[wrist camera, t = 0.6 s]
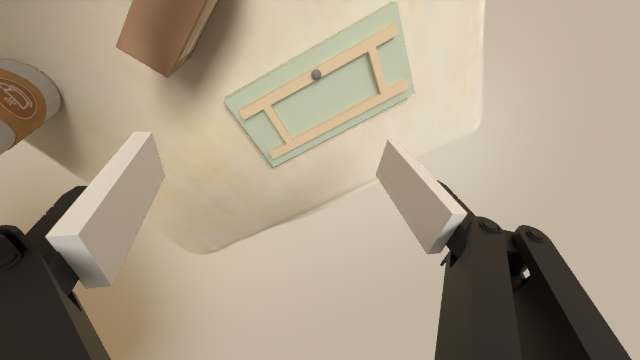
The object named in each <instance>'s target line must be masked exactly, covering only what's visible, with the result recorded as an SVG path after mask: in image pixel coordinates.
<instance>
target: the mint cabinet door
mask: <svg viewBox="0 0 640 360" xmlns="http://www.w3.org/2000/svg"><path fill="white" fill-rule="evenodd" d="M413 94H415V91H414V86H413V81H412V76H411V71H410V66H409V61H408V56H407V51H406V46H405V41H404V35H403V30H402V25H401V20H400V15H399V10H398V5H397V2H390V3H389V4H387V5H385V6H383V7H382V8H380V9H378V10H376V11H375V12H373V13H371V14H370V15H368V16H366V17H364V18H363V19H361V20H359V21H357V22H356V23H354V24H352V25H350V26H349V27H347V28H345V29H343V30H342V31H340V32H338V33H336V34H335V35H333V36H331V37H329V38H328V39H326V40H324V41H322V42H321V43H319V44H317V45H315V46H314V47H312V48H310V49H308V50H307V51H305V52H303V53H301V54H300V55H298V56H296V57H294V58H293V59H291V60H289V61H287V62H286V63H284V64H282V65H280V66H279V67H277V68H275V69H273V70H272V71H270V72H268V73H266V74H265V75H263V76H261V77H259V78H258V79H256V80H254V81H252V82H251V83H249V84H247V85H245V86H244V87H242V88H240V89H238V90H237V91H235V92H233V93H231V94H230V95H228V96H226V97H225V98H224V103H225V104H226V105H227V107H228V108H229V109H230V111H231V112H232V113H233V114H234V116H235V117H236V118H237V120H238V121H239V122H240V124H241V125H242V126H243V128H244V129H245V130H246V132H247V133H248V134H249V136H250V137H251V138H252V140H253V141H254V142H255V144H256V145H257V146H258V148H259V149H260V150H261V152H262V153H263V154H264V156H265V157H266V158H267V159H268V161H269V162H270V163H271V165H272V166H273V167H275V166H277V165H279V164H281V163H283V162H284V161H286V160H288V159H290V158H292V157H294V156H296V155H298V154H300V153H302V152H304V151H306V150H308V149H309V148H311V147H313V146H315V145H317V144H319V143H321V142H323V141H325V140H327V139H329V138H331V137H333V136H334V135H336V134H338V133H340V132H342V131H344V130H346V129H348V128H350V127H352V126H354V125H356V124H357V123H359V122H361V121H363V120H365V119H367V118H369V117H371V116H373V115H375V114H377V113H379V112H381V111H382V110H384V109H386V108H388V107H390V106H392V105H394V104H396V103H398V102H400V101H402V100H404V99H406V98H407V97H409V96H411V95H413Z"/></svg>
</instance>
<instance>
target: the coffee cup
mask: <svg viewBox="0 0 640 360" xmlns="http://www.w3.org/2000/svg"><path fill="white" fill-rule="evenodd" d="M60 105H61V98H60V93H59V91H58V89H57V87H56V86H55V85H54V83H53V82H52V81H51V80H50V79H49V78H48V77H47V76H46V75H45V74H43V73H42V72H40V71H39V70H37V69H35V68H33V67H31V66H29V65H27V64H23V63H20V62H17V61H13V60H7V59H0V155H1V154H2V153H3V152H5V151H7V150H9V149H10V148H12V147H13V146H14V145H16V144H17V143H19V142H20V141H21V140H23V139H24V138H25V137H26V136H28V135H29V134H30V133H32V132H33V131H34V130H36V129H37V128H38V127H40V125H41V124H42V123H44V122H45V121H46V120H48V119H49V118H50V117H52V116H53V115H54V114H55V113H56V112H57V111H58V110H59V108H60Z"/></svg>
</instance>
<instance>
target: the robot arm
mask: <svg viewBox="0 0 640 360" xmlns="http://www.w3.org/2000/svg"><path fill="white" fill-rule="evenodd" d="M376 176H377V178H378V179H379V181H380V182H381V184H382V185H383V187H384V188H385V190H386V192H387V193H388V194H389V196H390V198H391V199H392V201H393V202H394V204H395V205H396V207H397V209H398V210H399V212H400V213H401V215H402V216H403V218H404V219H405V221H406V223H407V224H408V226H409V227H410V229H411V230H412V232H413V233H414V235H415V236H416V238H417V239H418V241H419V243H420V244H421V246H422V247H423V249H424V250H425V252H426V253H427V254H435V253H440V252H441V251H442V250H443V248H444V247H445V245H447V247H448V248H449V250H450V251H449V253H448V254H447V255H446V257H445V258H444V260H443V261H442V263H441V264H440V265H441V266H443V265H444V263H446V268H445V276H444V284H443V293H442V301H441V309H440V318H439V327H438V335H437V343H436V352H435V360H631V358H630V357H629V355H628V354H627V352H626V351H625V349H624V348H623V346H622V345H621V343H620V342H619V340H618V339H617V337H616V336H615V335H614V333H613V332H612V330H611V329H610V327H609V326H608V324H607V323H606V321H605V320H604V318H603V317H602V315H601V314H600V312H599V311H598V310H597V308H596V306H595V305H594V304H593V302H592V301H591V299H590V298H589V296H588V295H587V293H586V292H585V290H584V289H583V287H582V286H581V284H580V283H579V281H578V280H577V278H576V277H575V275H574V274H573V273H572V271H571V270H570V268H569V267H568V265H567V264H566V262H565V261H564V259H563V258H562V256H561V255H560V254H559V252H558V250H557V249H556V247H555V246H554V245H553V243H552V242H551V240H550V239H549V238H548V237H547V236H546V235H545V234H543V233H542V232H541V231H540V230H538V229H536V228H533V227H530V226H526V225H522V226H519V227H518V228H517V229H516V230H515V232H511V231H506V230H502V229H501V228H500V226H499V225H498V224H496V223H495V222H493V221H492V220H490V219H487V218H484V217H476V216H475V215H474V214H473V213H472V212H471V211H470V210H469V209H468V208H467V206H466V205H465V204H464V203H463V202H462V201H461V200H460V199H458V197H457V196H456V195H455V194H453V192H452V191H451V190H450V189H449V188H448V187H447V186H446V185H444V184H443V183H441V182H439V181H438V180H435V178H434V177H433V176H432V175H431V174H430V173H429V172H428V171H427V170H426V169H425V168H424V167H423V166H422V165H421V163H420V162H419V161H418V160H417V159H416V158H415V157H414V156H413V155H412V154H411V153H410V152H409V151H408V150H407V149H406V148H405V146H404V145H403V144H402V143H401V142H400V141H399V140H387V143H386V146H385V149H384V152H383V155H382V158H381V161H380V164H379V167H378V170H377V173H376ZM164 177H165V175H164V172H163V168H162V165H161V162H160V158H159V155H158V151H157V148H156V144H155V141H154V137H153V134H152V132H133V134H132V135H131V136H130V137H129V138H128V140H127V141H126V142H125V143H124V144H123V145H122V147H121V148H120V149H119V150H118V151H117V153H116V154H115V155H114V156H113V157H112V158H111V160H110V161H109V162H108V163H107V164H106V165H105V167H104V168H103V169H102V170H101V171H100V173H99V174H98V175H97V176H96V177H95V178H94V180H93V181H92V182H91V183H90V184H89V185H88V186H77V187H75V188H73V189H72V190H70V191H68V192H67V193H65V194H63V195H62V196H61V197H60V198H59V200H58V201H57V202H56V203H55V204H54V207H51V208H50V209H49V210H48V211H47V212H46V215H44V216H43V217H42V218H41V219H40V220H39V221H38V222H37V223H36V224H35V225H34V226H33V227H32V228H31V230H30V231H29V232H28V233H27V234H26V235H24V234H23V232H22V231H21V230H20V229H18V228H17V227H16V226H10V225H1V226H0V360H111V359H110V357H109V355H108V353H107V351H106V350H105V348H104V346H103V344H102V342H101V340H100V338H99V337H98V335H97V333H96V331H95V329H94V327H93V325H92V324H91V322H90V320H89V318H88V316H87V315H86V313H85V311H84V309H83V307H82V305H81V303H80V302H79V300H78V298H77V296H76V294H75V293H74V292H73V291H72V290H73V288H74V286H75V285H76V283H77V281H78V280H80V282H81V283H82V284H83V285H84V287H85V288H86V289H87V288H96V287H106V286H112V284H113V282H114V280H115V278H116V276H117V274H118V272H119V270H120V268H121V266H122V264H123V262H124V259H125V258H126V256H127V253H128V251H129V249H130V247H131V245H132V243H133V241H134V239H135V237H136V235H137V233H138V231H139V229H140V227H141V224H142V222H143V220H144V218H145V216H146V214H147V212H148V210H149V208H150V206H151V204H152V202H153V200H154V198H155V196H156V194H157V191H158V189H159V187H160V185H161V183H162V181H163V179H164ZM526 269H528V270H529V272H530V276H529V277H527V278H525V276H524V274H523V272H524V271H525V270H526Z"/></svg>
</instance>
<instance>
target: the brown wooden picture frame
mask: <svg viewBox="0 0 640 360" xmlns="http://www.w3.org/2000/svg"><path fill="white" fill-rule="evenodd" d="M217 2H218V0H133V1H132V4H131V7H130V9H129V12H128V15H127V18H126V20H125V23H124V26H123V28H122V31H121V34H120V36H119V39H118V42H117V45H116V47H117V48H118V49H120V50H122V51H123V52H125V53H127V54H128V55H130V56H132V57H133V58H135V59H137V60H138V61H140V62H142V63H144V64H145V65H147V66H149V67H150V68H152V69H154V70H155V71H157V72H159V73H160V74H162V75H164V76H165V77H167V78H168V77H169V76H170V75H171V74H172V73H174V72H175V71H176V70H177V69H178V68H179V67H180V66H181V65H182V64H183V63H184V62H185V61H187V60H188V59H189V58H190V56H191V54H192V52H193V50H194V48H195V46H196V44H197V42H198V40H199V38H200V36H201V34H202V32H203V30H204V28H205V26H206V24H207V22H208V20H209V18H210V16H211V14H212V12H213V10H214V8H215V6H216V4H217Z"/></svg>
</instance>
